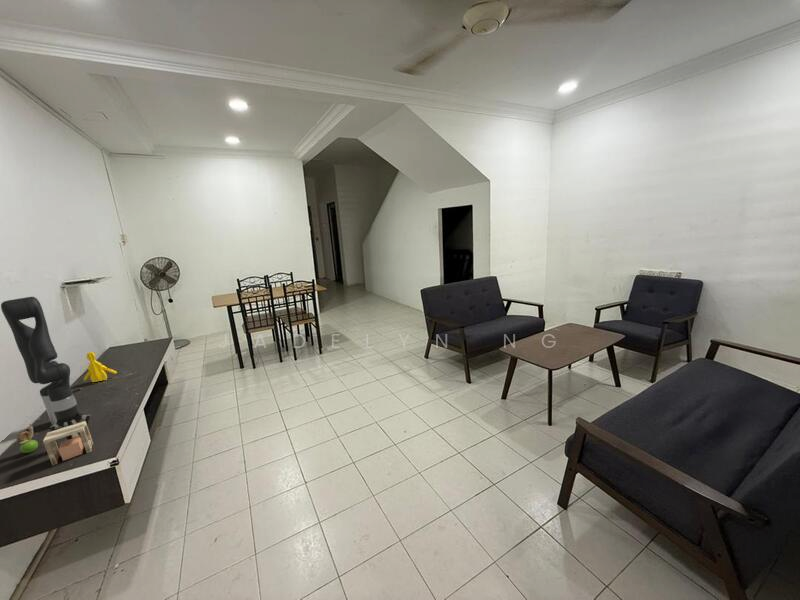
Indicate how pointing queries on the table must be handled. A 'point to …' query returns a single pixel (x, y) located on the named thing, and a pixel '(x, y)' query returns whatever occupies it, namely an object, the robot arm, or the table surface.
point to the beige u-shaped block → (63, 432)
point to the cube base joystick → (71, 447)
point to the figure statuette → (96, 369)
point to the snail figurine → (27, 441)
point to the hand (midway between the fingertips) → (77, 439)
